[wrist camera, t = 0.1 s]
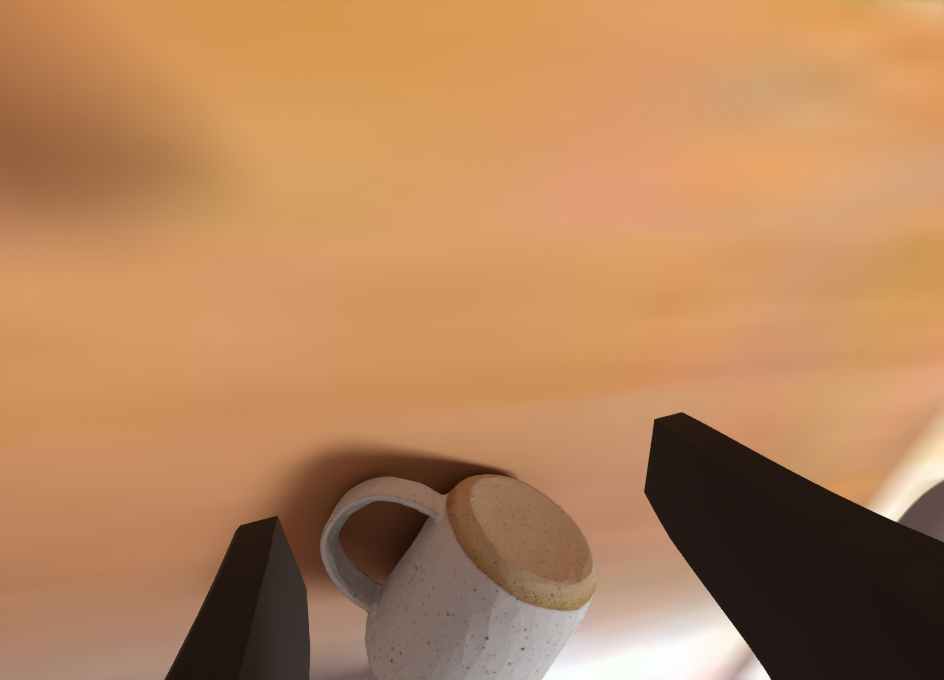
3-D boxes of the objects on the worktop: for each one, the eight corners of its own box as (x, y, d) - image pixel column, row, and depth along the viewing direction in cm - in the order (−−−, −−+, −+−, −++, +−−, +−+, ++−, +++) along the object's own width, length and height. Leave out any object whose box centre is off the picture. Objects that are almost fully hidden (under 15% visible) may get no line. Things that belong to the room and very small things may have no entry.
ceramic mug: (566, 476, 26) (650, 624, 19) (488, 587, 28) (539, 748, 22) (362, 428, 21) (382, 599, 15) (293, 565, 24) (284, 760, 17)
